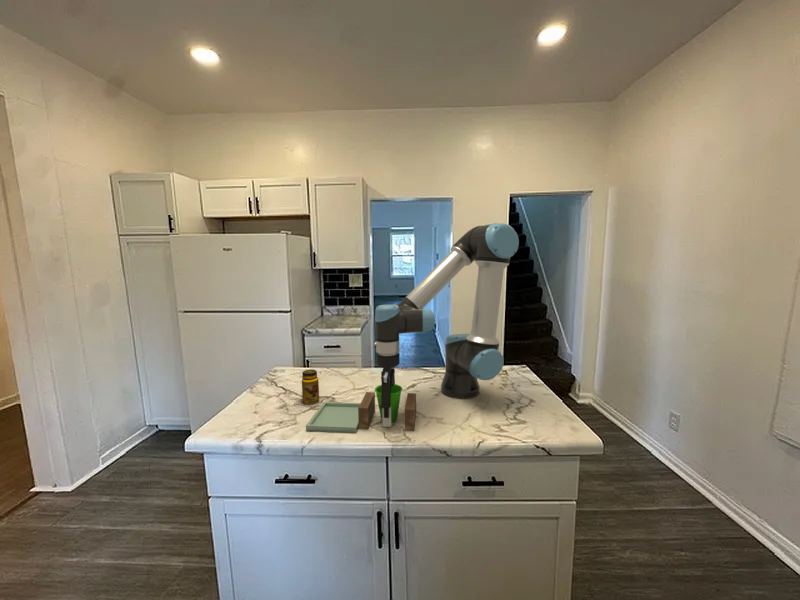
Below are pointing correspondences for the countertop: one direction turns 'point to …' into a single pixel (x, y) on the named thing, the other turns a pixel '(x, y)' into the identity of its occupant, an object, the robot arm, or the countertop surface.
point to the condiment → (310, 389)
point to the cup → (394, 401)
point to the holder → (368, 410)
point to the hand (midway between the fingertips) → (389, 418)
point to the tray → (335, 418)
